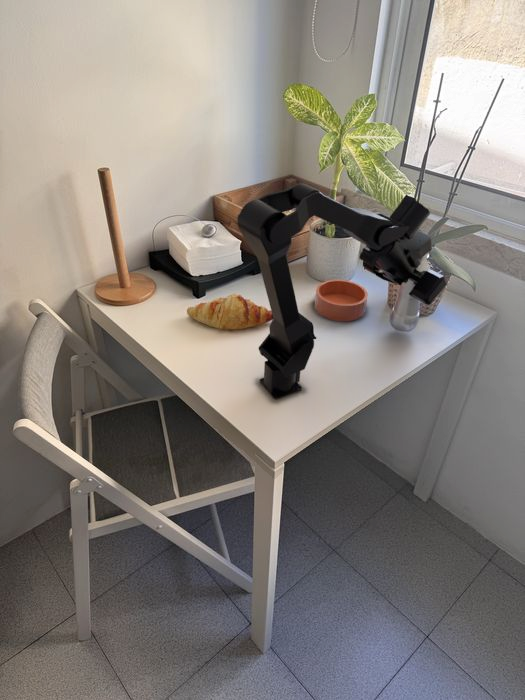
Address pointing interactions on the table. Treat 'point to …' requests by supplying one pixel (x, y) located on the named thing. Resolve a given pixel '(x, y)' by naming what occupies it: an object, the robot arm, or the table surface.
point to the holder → (340, 300)
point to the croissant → (230, 313)
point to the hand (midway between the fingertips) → (415, 290)
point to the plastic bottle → (407, 303)
